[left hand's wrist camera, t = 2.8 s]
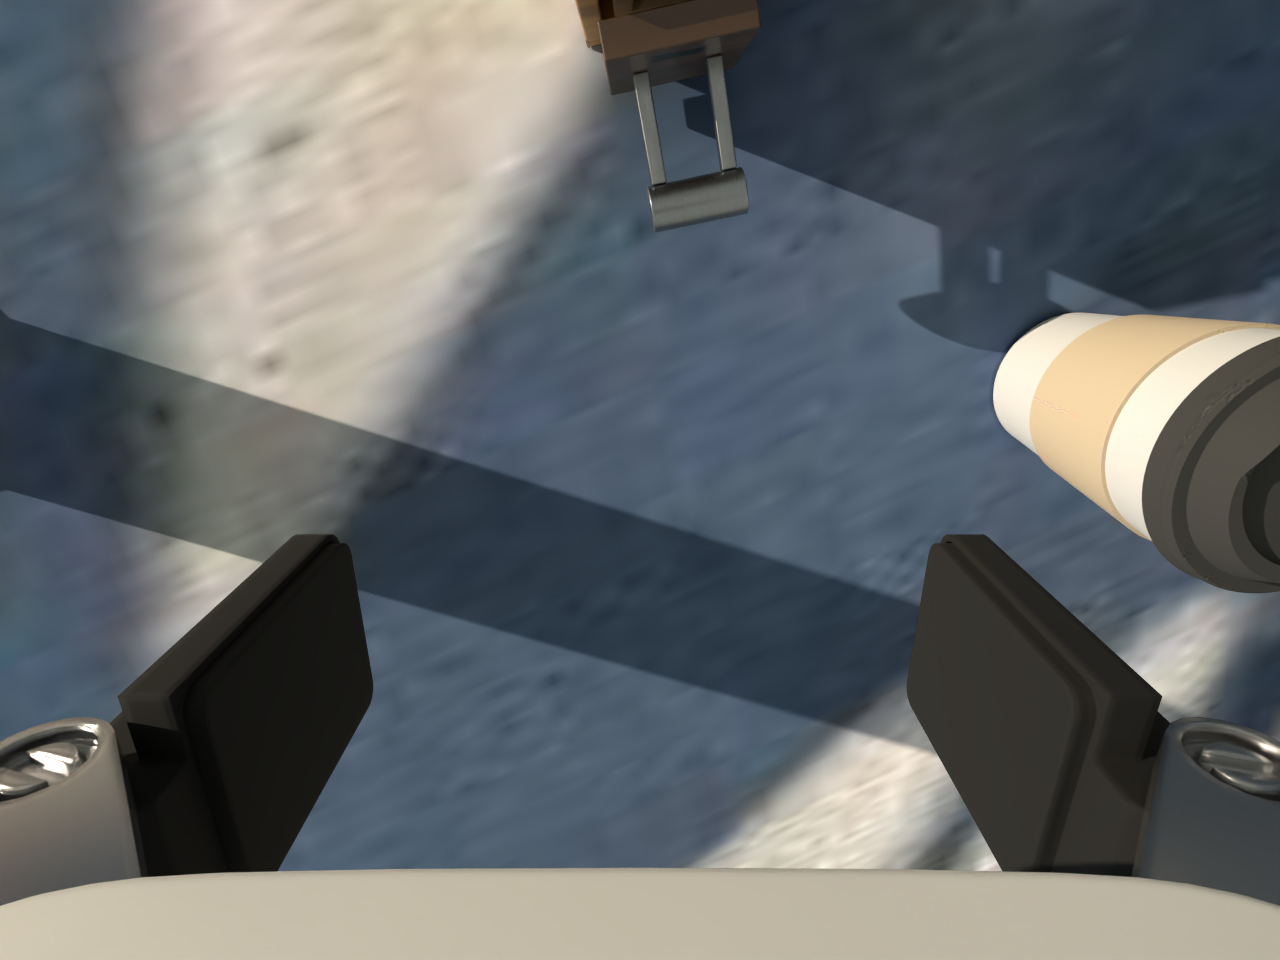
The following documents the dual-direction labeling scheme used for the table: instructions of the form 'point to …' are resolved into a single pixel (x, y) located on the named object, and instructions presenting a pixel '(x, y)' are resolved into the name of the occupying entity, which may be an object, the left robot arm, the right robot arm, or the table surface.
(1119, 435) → the coffee cup
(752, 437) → the table surface
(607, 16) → the cabinet
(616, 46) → the drawer
